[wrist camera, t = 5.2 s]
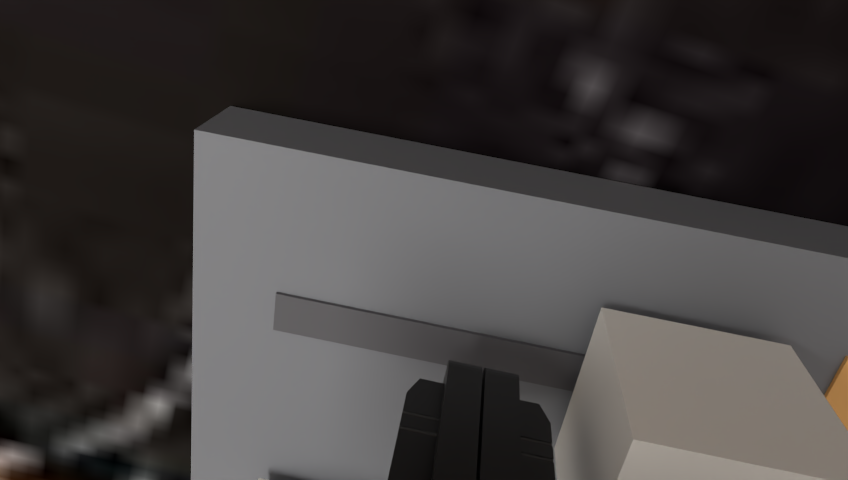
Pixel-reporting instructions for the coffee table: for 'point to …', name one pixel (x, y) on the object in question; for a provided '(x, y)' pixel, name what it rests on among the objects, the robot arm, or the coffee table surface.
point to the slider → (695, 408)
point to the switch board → (451, 286)
